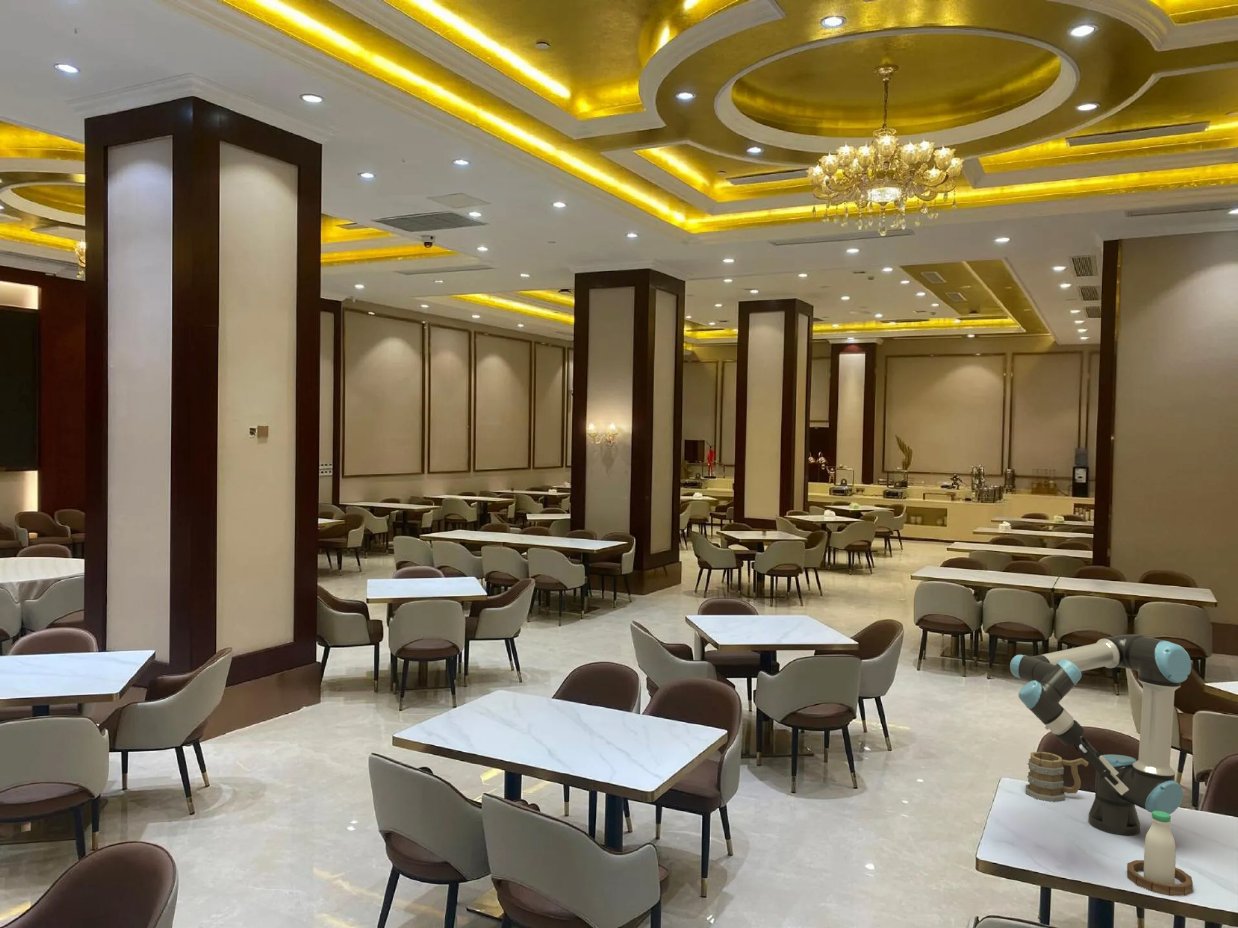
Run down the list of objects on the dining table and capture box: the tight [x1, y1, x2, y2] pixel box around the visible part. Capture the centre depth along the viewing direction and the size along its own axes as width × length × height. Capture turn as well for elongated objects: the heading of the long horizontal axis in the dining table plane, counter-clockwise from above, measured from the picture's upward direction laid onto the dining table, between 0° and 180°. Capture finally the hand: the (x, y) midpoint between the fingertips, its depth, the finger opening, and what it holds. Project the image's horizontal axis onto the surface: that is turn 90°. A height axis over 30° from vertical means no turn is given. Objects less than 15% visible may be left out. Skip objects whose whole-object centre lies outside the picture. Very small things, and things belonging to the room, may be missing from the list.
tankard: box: [1025, 751, 1090, 803], centre depth 321 cm, size 20×13×15 cm, turn 66°
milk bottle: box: [1143, 811, 1177, 884], centre depth 258 cm, size 8×8×20 cm
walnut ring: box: [1126, 859, 1194, 896], centre depth 258 cm, size 16×16×2 cm
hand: (1119, 783), depth 263 cm, fingers open, 13 cm apart
